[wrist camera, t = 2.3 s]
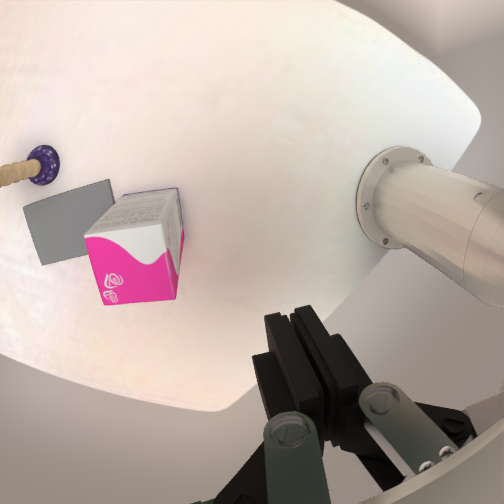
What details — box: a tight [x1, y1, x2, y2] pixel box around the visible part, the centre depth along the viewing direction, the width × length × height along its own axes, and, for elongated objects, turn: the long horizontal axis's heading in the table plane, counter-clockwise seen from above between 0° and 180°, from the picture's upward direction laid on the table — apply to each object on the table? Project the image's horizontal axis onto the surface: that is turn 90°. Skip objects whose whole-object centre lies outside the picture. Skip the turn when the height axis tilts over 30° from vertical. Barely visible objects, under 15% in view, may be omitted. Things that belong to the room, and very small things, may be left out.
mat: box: [23, 179, 115, 266], centre depth 27 cm, size 11×7×1 cm, turn 99°
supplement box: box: [84, 188, 184, 305], centre depth 24 cm, size 6×6×12 cm
